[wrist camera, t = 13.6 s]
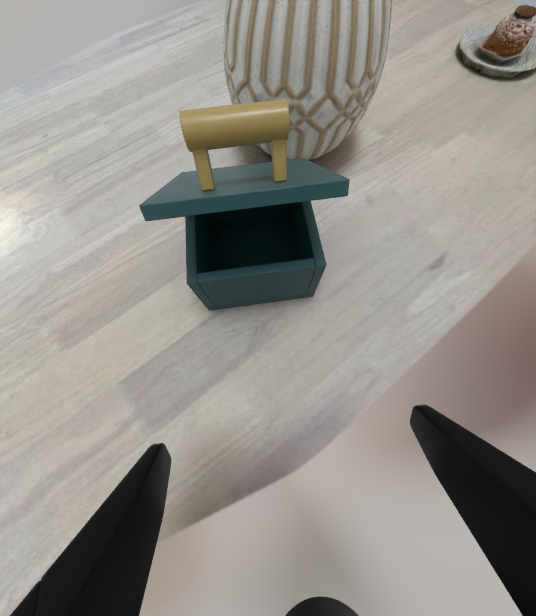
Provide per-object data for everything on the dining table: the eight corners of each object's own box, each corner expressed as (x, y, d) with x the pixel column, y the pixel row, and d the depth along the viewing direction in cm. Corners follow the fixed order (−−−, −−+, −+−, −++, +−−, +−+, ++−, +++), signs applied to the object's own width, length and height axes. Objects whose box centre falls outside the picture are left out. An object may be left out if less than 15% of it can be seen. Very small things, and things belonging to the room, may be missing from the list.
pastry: (557, 68, 34) (598, 22, 30) (489, 89, 33) (521, 44, 29) (502, 28, 38) (531, -19, 34) (439, 45, 37) (461, 0, 33)
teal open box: (313, 296, 24) (326, 265, 18) (208, 310, 23) (186, 283, 17) (296, 216, 27) (302, 167, 21) (204, 228, 27) (184, 182, 21)
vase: (211, 142, 31) (114, -238, 12) (290, 85, 35) (309, -279, 16) (302, 206, 27) (368, -203, 8) (380, 134, 31) (550, -267, 12)
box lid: (348, 196, 12) (360, 86, 10) (145, 221, 12) (101, 116, 9) (303, 168, 21) (303, 106, 18) (184, 182, 20) (166, 121, 18)
